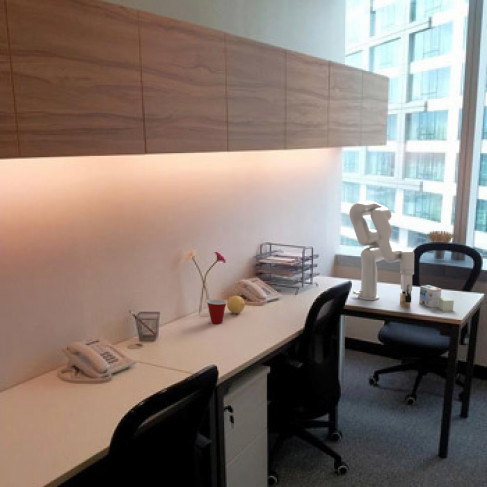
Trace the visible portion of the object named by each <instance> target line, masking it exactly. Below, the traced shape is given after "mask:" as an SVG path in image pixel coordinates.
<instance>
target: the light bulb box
mask: <svg viewBox="0 0 487 487" xmlns="http://www.w3.org/2000/svg"><path fill="white" fill-rule="evenodd" d="M439 298H442V288H440V287H437V286H434V285H430V284H426V285H420V286H419V301H418V303H419V304H420V305H423V306H425V307H429V308H438V304H439Z"/></svg>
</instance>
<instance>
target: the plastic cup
mask: <svg viewBox="0 0 487 487" xmlns="http://www.w3.org/2000/svg"><path fill="white" fill-rule="evenodd" d="M227 302H228V300H225V299H219V298H217V299H216V298H214V299H213V298H212V299H207V300H206V303H207V306H208V312H209V317H210V321H211V324H212V325H221V324H222V323H223V320H224V316H225V315H224V314H225V309H226V307H227Z"/></svg>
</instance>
